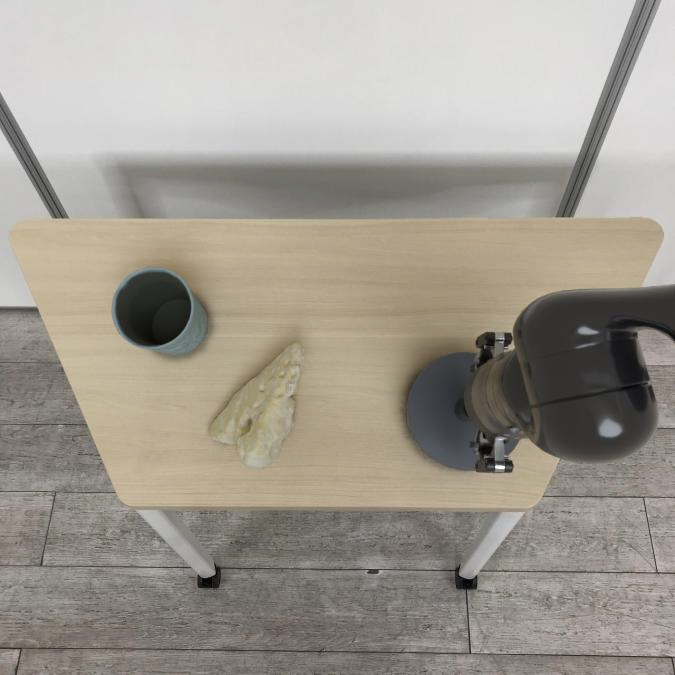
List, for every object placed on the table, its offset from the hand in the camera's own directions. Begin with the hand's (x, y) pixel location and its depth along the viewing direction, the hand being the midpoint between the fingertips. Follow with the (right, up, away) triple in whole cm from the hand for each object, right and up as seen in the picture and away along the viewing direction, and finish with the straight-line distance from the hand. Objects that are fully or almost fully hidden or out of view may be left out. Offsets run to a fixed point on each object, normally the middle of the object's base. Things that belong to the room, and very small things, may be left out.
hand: (479, 406), depth 69 cm
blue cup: (-38, +9, +17) cm, 43 cm away
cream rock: (-26, -1, +14) cm, 29 cm away
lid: (0, -1, +7) cm, 8 cm away
